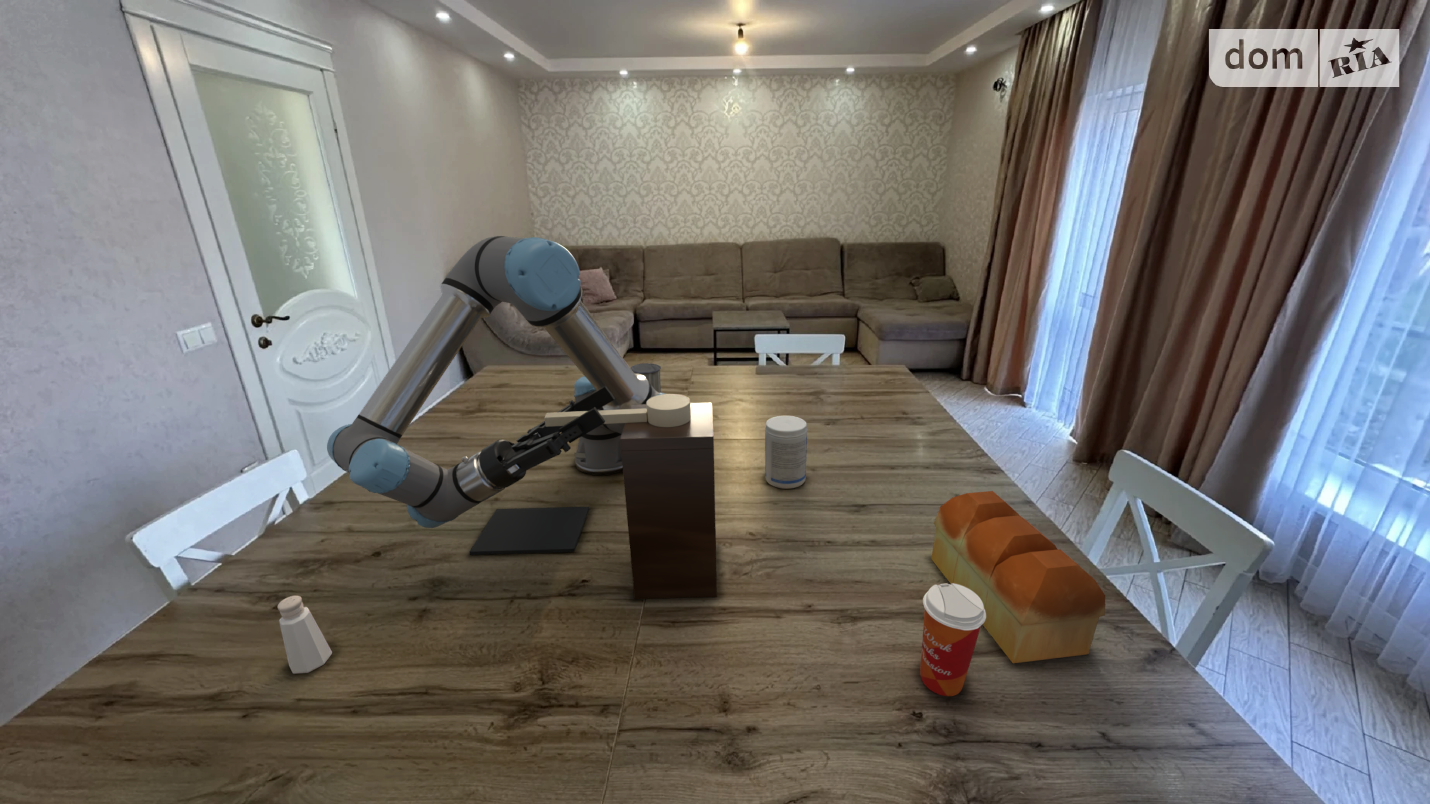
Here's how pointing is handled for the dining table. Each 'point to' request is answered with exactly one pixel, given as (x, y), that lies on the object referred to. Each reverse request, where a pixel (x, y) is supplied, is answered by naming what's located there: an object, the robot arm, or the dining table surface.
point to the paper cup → (949, 636)
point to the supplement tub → (785, 451)
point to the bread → (1017, 579)
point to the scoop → (637, 413)
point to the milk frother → (649, 374)
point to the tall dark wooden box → (671, 506)
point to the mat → (531, 531)
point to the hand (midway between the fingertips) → (605, 403)
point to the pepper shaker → (302, 637)
